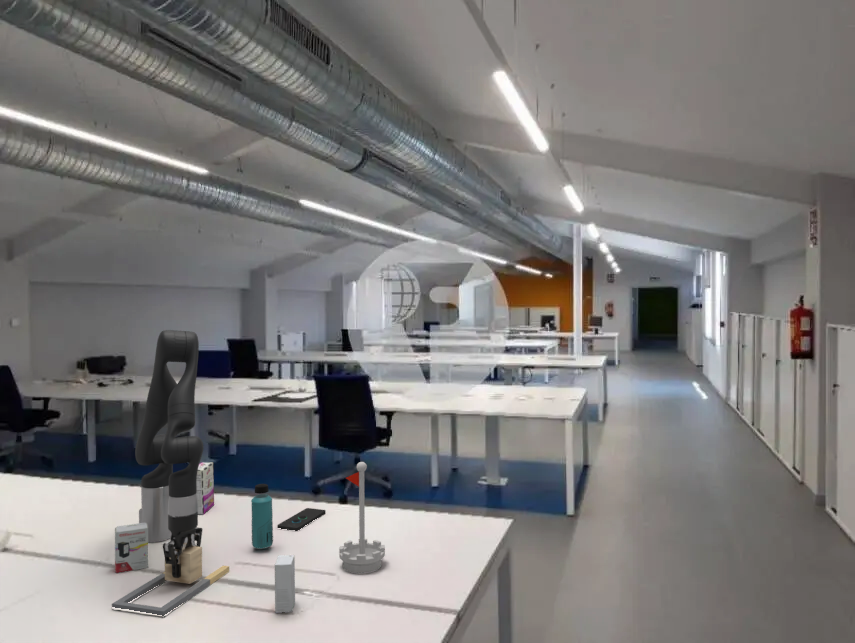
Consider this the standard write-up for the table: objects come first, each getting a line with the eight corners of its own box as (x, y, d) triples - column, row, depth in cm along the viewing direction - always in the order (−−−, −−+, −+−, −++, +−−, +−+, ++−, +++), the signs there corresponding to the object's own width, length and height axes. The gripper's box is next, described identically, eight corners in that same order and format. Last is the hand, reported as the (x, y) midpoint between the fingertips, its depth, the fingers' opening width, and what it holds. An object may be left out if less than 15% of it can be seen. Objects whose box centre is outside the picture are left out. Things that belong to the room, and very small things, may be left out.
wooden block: (164, 580, 170) (164, 550, 170) (177, 572, 175) (176, 543, 174) (190, 583, 168) (190, 553, 167) (202, 576, 172) (201, 547, 172)
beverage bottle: (267, 554, 190) (267, 488, 190) (247, 552, 192) (246, 487, 191) (277, 546, 197) (276, 482, 196) (257, 544, 198) (256, 481, 198)
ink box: (115, 573, 177) (114, 532, 177) (114, 567, 181) (114, 526, 181) (148, 567, 181) (148, 527, 181) (147, 561, 185) (147, 521, 185)
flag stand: (391, 559, 186) (391, 458, 186) (373, 577, 174) (373, 469, 173) (351, 554, 191) (351, 455, 190) (331, 571, 178) (330, 465, 178)
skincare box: (278, 601, 160) (277, 554, 159) (295, 601, 160) (295, 554, 160) (274, 613, 154) (274, 564, 153) (292, 612, 154) (291, 564, 154)
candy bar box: (201, 505, 238) (200, 462, 238) (214, 505, 238) (214, 462, 238) (189, 515, 227) (189, 469, 226) (203, 515, 227) (203, 469, 226)
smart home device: (276, 525, 213) (306, 507, 231) (276, 530, 213) (306, 512, 232) (297, 527, 210) (326, 509, 229) (297, 533, 210) (326, 514, 229)
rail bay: (111, 609, 156) (111, 603, 156) (183, 565, 182) (183, 560, 182) (163, 617, 152) (163, 611, 152) (229, 571, 178) (229, 566, 178)
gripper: (188, 501, 178) (188, 561, 179) (152, 517, 165) (153, 582, 165) (211, 503, 176) (211, 564, 177) (177, 520, 163) (177, 586, 163)
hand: (183, 572), depth 171 cm, fingers closed on wooden block, 5 cm apart
